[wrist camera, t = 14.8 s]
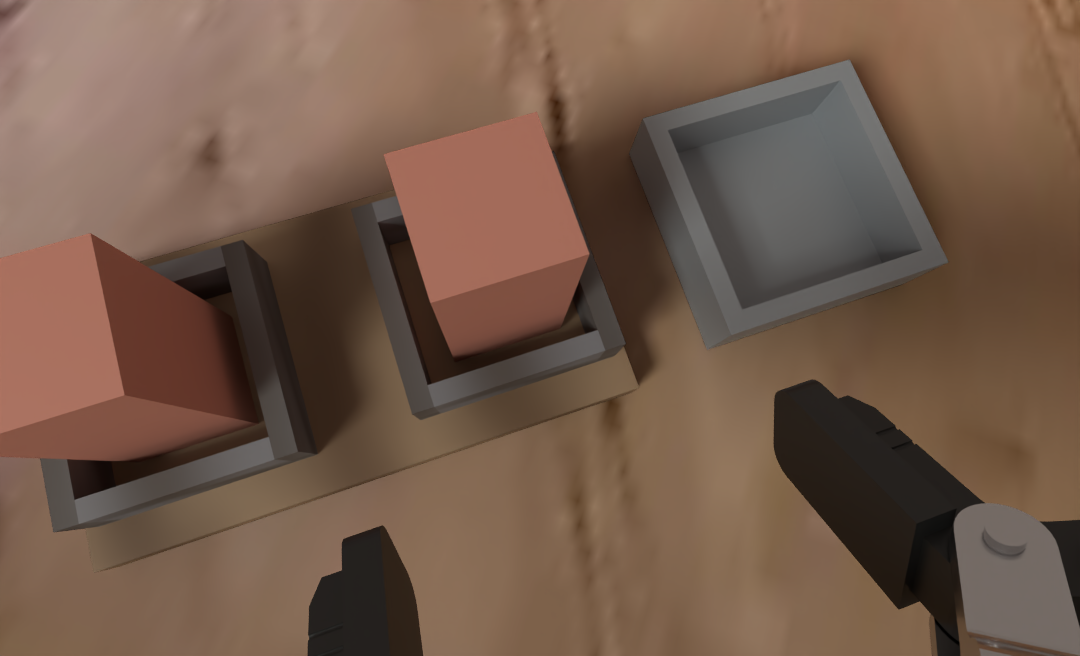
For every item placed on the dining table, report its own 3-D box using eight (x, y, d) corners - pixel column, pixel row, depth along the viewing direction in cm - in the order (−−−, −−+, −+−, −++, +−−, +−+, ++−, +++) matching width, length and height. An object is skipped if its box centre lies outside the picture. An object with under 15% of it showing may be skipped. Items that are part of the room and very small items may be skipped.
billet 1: (232, 316, 25) (90, 233, 17) (258, 424, 25) (124, 395, 16) (117, 351, 25) (-92, 283, 16) (140, 462, 24) (-67, 454, 15)
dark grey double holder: (546, 161, 29) (553, 113, 25) (631, 392, 27) (653, 378, 23) (65, 300, 27) (-10, 270, 23) (118, 567, 25) (45, 584, 21)
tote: (816, 99, 31) (849, 59, 28) (903, 283, 29) (948, 262, 26) (628, 153, 30) (643, 118, 27) (707, 349, 28) (731, 335, 25)
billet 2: (525, 230, 27) (536, 111, 18) (560, 328, 26) (589, 254, 17) (423, 260, 26) (383, 154, 18) (455, 362, 26) (430, 303, 17)
